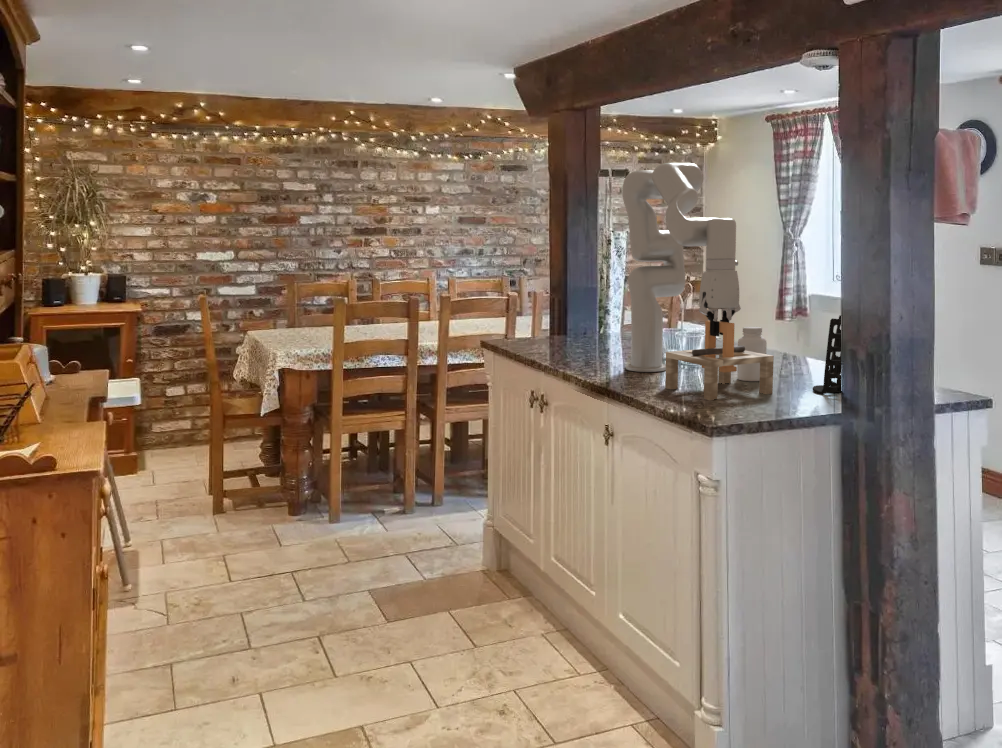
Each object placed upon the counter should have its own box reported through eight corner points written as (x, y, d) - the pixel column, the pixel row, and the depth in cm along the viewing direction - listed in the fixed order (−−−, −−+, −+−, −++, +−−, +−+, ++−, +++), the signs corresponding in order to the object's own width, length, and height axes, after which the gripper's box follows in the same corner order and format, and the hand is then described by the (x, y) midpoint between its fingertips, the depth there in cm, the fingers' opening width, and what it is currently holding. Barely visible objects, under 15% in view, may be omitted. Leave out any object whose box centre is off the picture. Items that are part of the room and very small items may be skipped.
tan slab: (724, 372, 243) (724, 324, 241) (701, 367, 252) (702, 321, 250) (736, 371, 245) (737, 323, 243) (713, 366, 254) (714, 320, 252)
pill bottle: (744, 376, 272) (745, 325, 269) (770, 378, 267) (771, 326, 264) (732, 380, 266) (733, 327, 263) (758, 382, 261) (760, 329, 258)
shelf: (709, 400, 237) (710, 355, 235) (665, 388, 255) (665, 346, 253) (772, 393, 245) (773, 349, 243) (725, 382, 263) (726, 341, 261)
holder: (811, 386, 253) (822, 313, 249) (841, 389, 251) (852, 316, 247) (812, 393, 242) (824, 317, 238) (843, 397, 240) (855, 321, 236)
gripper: (736, 264, 251) (735, 332, 254) (686, 266, 245) (685, 336, 247) (754, 265, 244) (753, 335, 247) (703, 267, 238) (702, 338, 241)
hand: (719, 334), depth 247 cm, fingers closed on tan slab, 2 cm apart
